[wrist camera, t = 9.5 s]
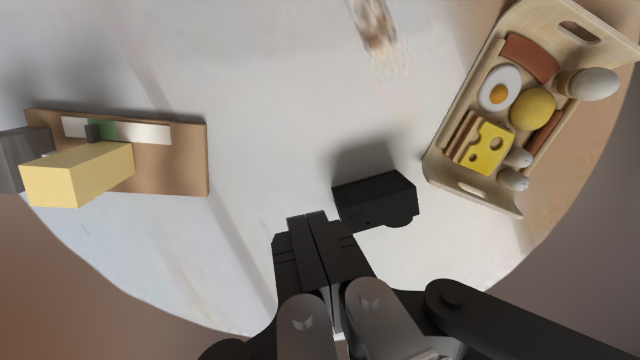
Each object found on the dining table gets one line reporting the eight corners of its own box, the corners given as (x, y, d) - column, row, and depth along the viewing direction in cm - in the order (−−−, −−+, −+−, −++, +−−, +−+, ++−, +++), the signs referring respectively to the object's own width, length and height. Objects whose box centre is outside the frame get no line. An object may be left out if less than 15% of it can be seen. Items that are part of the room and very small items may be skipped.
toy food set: (507, -4, 33) (567, -27, 26) (604, 56, 37) (678, 51, 30) (411, 173, 40) (437, 193, 33) (500, 207, 45) (540, 231, 38)
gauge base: (206, 124, 34) (186, 135, 28) (209, 193, 38) (191, 218, 31) (33, 107, 31) (-37, 115, 25) (53, 184, 35) (-3, 209, 28)
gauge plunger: (129, 126, 32) (63, 145, 23) (135, 172, 34) (78, 208, 25) (59, 120, 31) (-40, 138, 22) (70, 168, 33) (-15, 203, 24)
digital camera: (338, 218, 42) (347, 243, 35) (330, 188, 40) (338, 209, 33) (400, 199, 42) (421, 222, 35) (396, 169, 40) (416, 186, 33)
